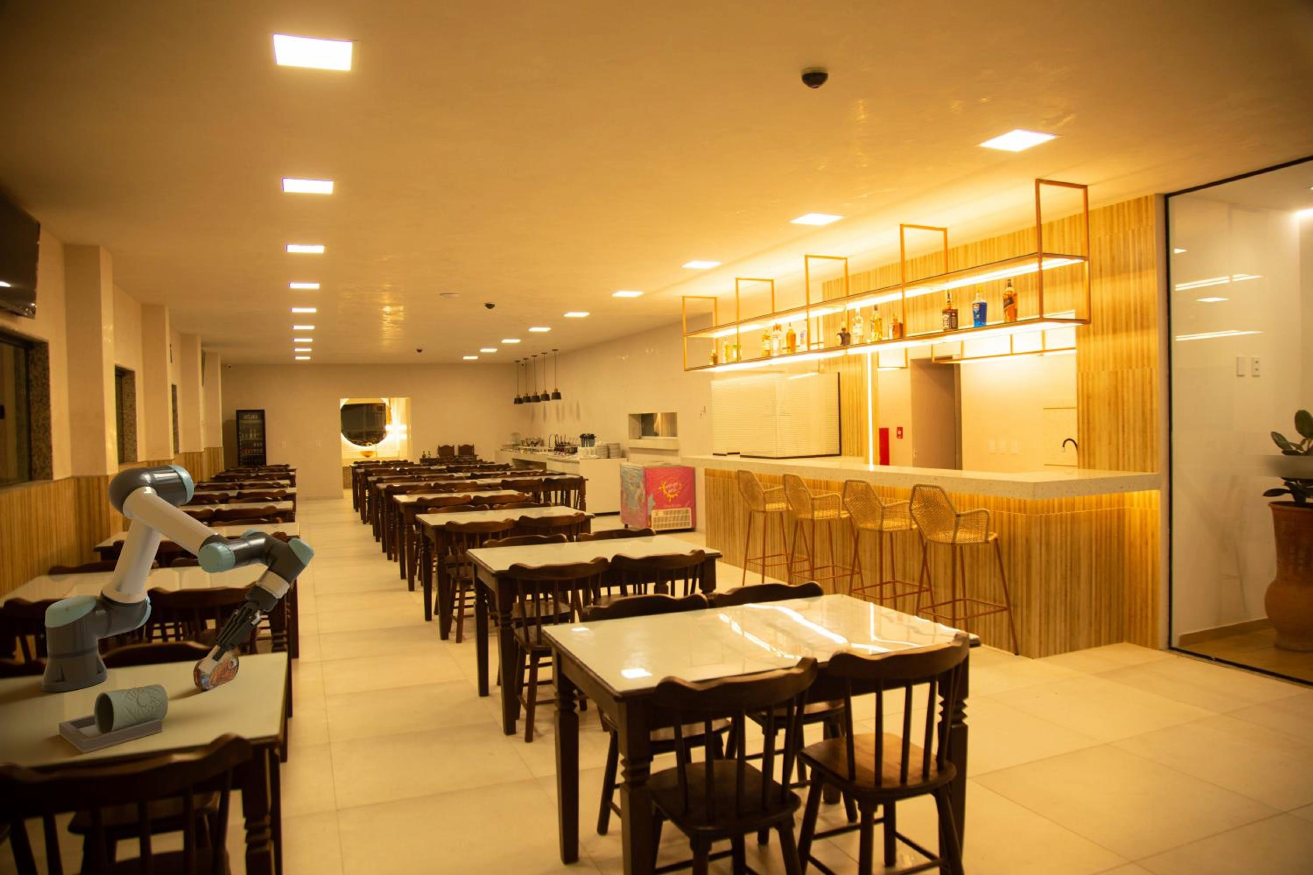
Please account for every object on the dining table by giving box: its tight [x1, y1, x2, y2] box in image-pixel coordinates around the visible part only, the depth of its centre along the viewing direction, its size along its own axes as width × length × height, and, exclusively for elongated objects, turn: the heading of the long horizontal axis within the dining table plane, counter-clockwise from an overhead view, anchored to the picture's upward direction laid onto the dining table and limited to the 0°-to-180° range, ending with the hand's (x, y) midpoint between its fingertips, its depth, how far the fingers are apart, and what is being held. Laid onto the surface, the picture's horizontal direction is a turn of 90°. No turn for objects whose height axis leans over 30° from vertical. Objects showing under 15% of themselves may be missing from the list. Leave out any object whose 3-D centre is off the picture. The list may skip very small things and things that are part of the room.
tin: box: [192, 649, 240, 690], centre depth 231 cm, size 15×3×8 cm, turn 168°
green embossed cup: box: [93, 683, 169, 735], centre depth 197 cm, size 10×10×12 cm
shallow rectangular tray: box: [58, 713, 163, 754], centre depth 197 cm, size 19×16×3 cm
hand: (203, 670), depth 211 cm, fingers closed
